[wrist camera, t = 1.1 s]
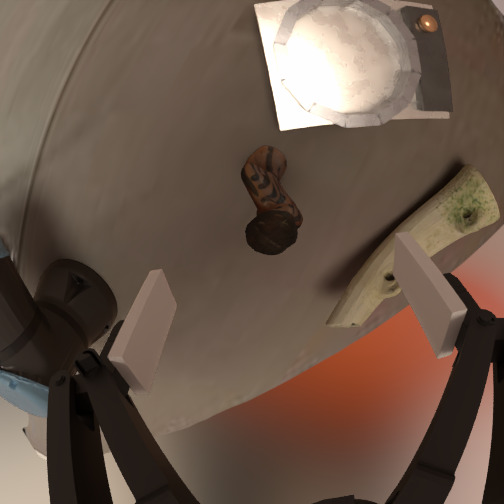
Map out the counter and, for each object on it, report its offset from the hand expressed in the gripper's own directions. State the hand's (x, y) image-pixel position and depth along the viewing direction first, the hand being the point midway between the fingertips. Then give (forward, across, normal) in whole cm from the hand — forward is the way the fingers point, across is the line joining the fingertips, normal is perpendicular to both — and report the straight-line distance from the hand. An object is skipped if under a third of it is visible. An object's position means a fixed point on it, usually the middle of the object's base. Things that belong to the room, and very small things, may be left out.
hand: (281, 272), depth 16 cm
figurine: (+22, 0, 0) cm, 22 cm away
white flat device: (+22, +12, +12) cm, 27 cm away
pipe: (+22, +17, -12) cm, 30 cm away
